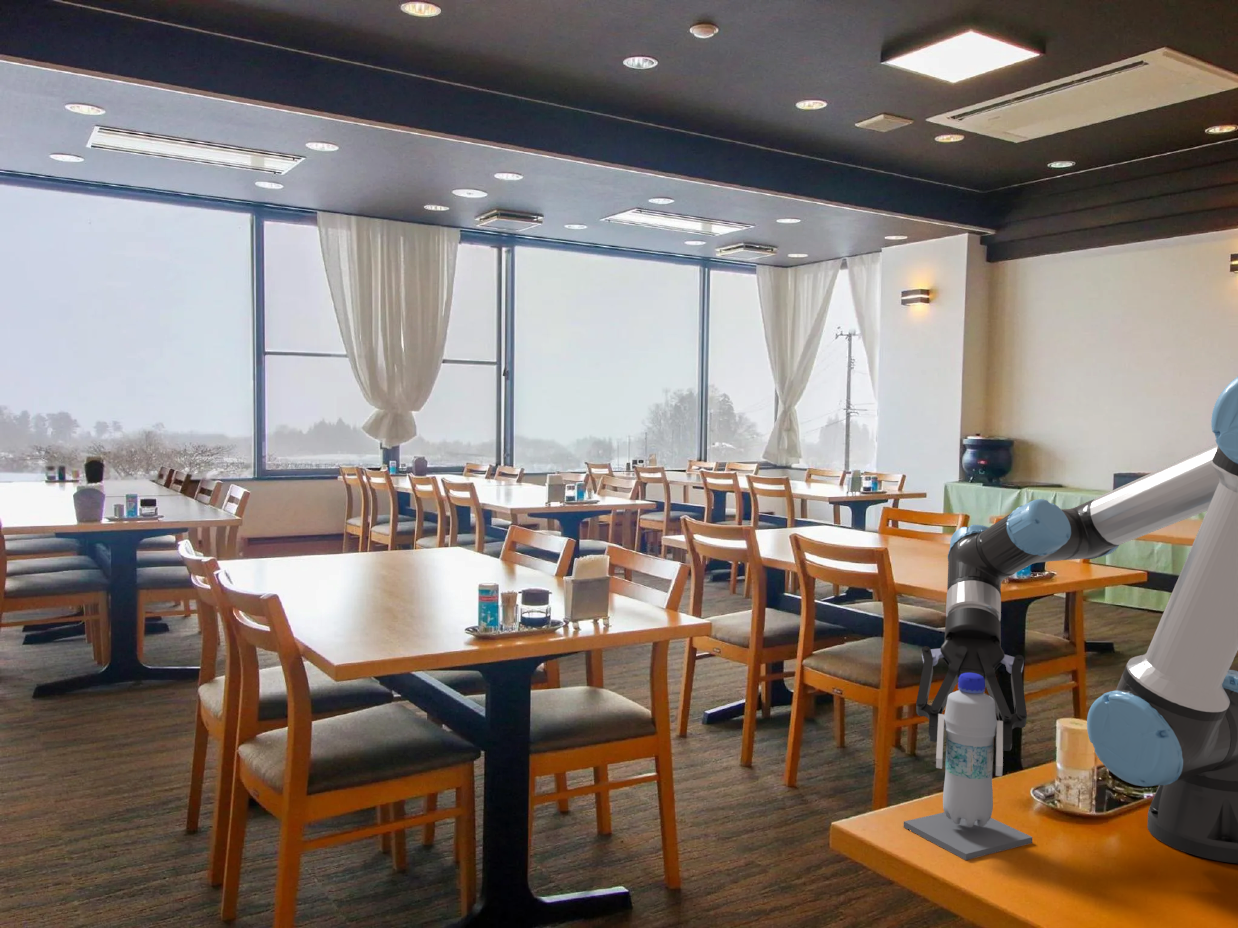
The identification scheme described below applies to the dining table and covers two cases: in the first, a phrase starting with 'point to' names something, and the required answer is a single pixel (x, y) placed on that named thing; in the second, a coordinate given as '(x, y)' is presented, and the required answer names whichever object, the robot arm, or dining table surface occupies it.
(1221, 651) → the robot arm
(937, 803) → the dining table surface
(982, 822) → the bottle
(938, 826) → the mat
